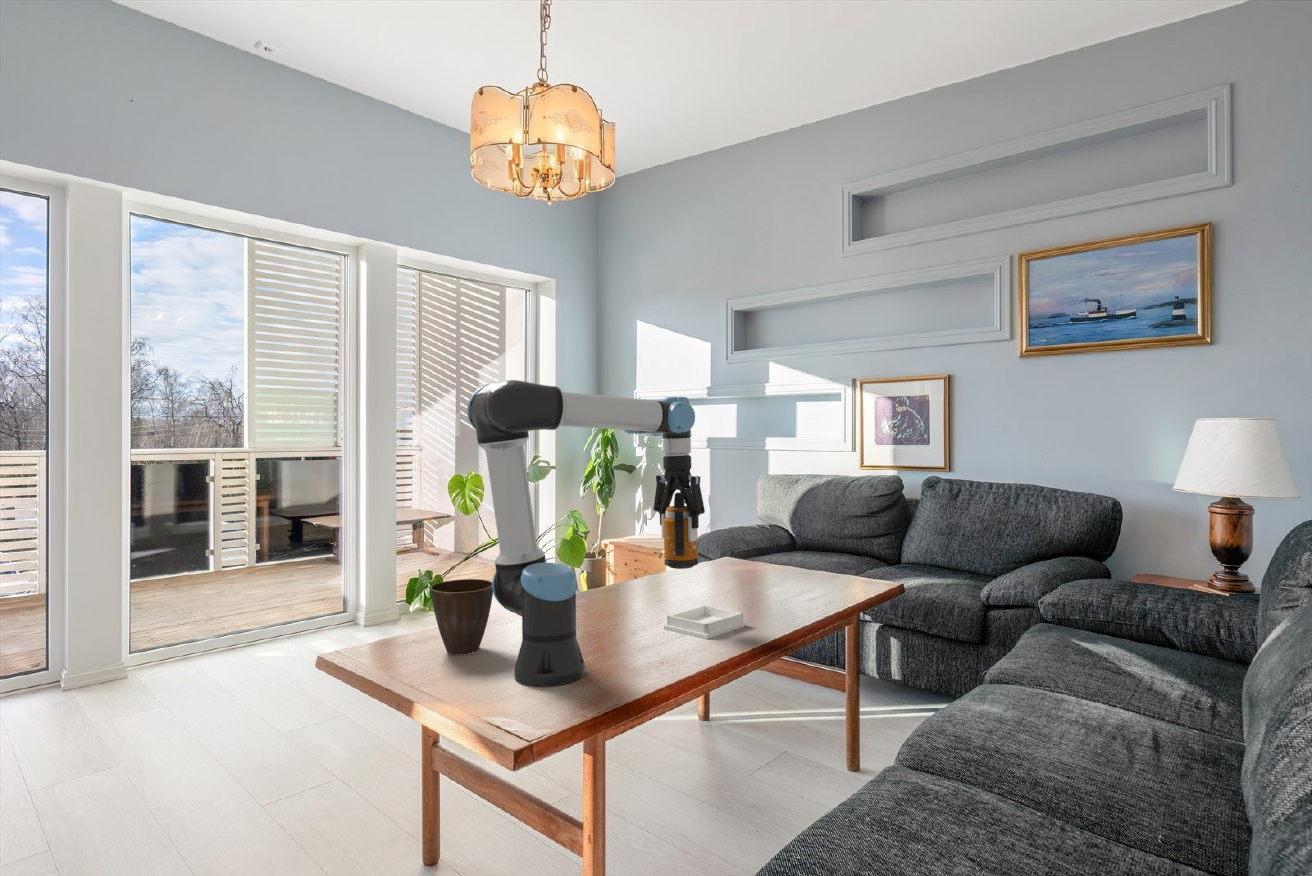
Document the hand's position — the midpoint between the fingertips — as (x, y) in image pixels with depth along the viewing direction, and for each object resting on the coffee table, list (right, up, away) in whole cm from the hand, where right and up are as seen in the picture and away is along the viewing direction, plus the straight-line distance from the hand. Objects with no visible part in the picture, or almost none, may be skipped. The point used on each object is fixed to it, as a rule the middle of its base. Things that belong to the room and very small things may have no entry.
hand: (679, 539), depth 189 cm
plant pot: (-53, -25, -17) cm, 61 cm away
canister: (0, -8, 0) cm, 8 cm away
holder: (+7, -24, +2) cm, 25 cm away
